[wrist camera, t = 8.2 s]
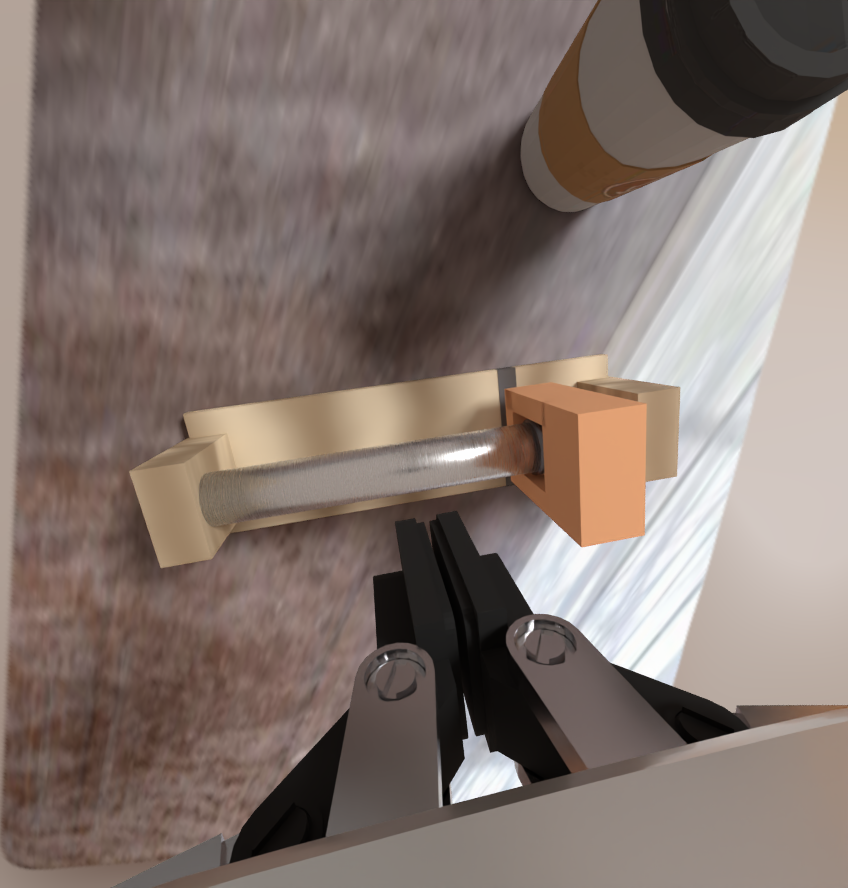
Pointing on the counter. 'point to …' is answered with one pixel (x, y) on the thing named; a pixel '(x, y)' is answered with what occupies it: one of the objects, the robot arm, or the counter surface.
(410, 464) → the pipe
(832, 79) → the coffee cup
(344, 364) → the counter surface
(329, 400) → the beige long frame
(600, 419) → the collar
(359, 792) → the robot arm
